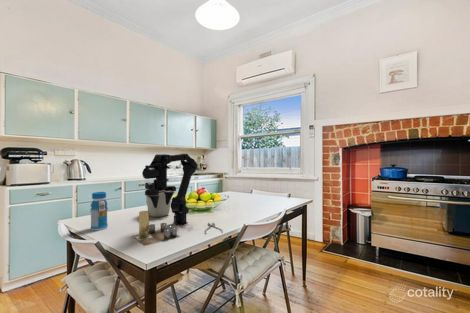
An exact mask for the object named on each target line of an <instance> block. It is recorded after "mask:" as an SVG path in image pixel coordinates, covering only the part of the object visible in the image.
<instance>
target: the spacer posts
mask: <svg viewBox="0 0 470 313" xmlns="http://www.w3.org/2000/svg"><path fill="white" fill-rule="evenodd" d="M167 224H168V223H167V222H161V223H160V230H161V232H164V239H165V240H166V241H169V240H168V239H170V238H174V237H177V235H178V228H177V227H174V226H173V225H171V224H170V225H167ZM155 231H156V224H154V223H151V224H150V223H149V234H154V233H155ZM174 239H175V238H174ZM170 240H171V239H170Z"/></svg>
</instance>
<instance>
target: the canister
mask: <svg viewBox="0 0 470 313" xmlns="http://www.w3.org/2000/svg"><path fill="white" fill-rule="evenodd" d="M158 195H159V200H158V205H157V208H154V205H153V203H152V200H151V198H150V197H147V195H145V196H146V199H145V200H146V206H147V211H149V217H154V218H159V217H160V218H162V217H165V216H167V215H169V214H170V212H171V204H170V203H171V201H172V198H171V199H170V202H169V204H168V205H166V199H165V194H164V192H160V193H159V194H158Z"/></svg>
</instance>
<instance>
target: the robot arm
mask: <svg viewBox="0 0 470 313" xmlns="http://www.w3.org/2000/svg"><path fill="white" fill-rule="evenodd" d="M179 161H180V165H181V166H182V172H183V174H182V177H181V182H180V184H179V188H178V191H177V187H176V186H175V185H168V182H169V178H168V169H171V168H170V167H169V164H170V163H172V162H179ZM197 163H198V162H196V160H195V159H194V158H192V157H191V156H190V155H189V154H188V153H179V154H178V153H177V154H168V153H167V154H166V153H165V154H162V153H161V154H158V153H157V154H155V155H154V157H153V159H152V161H151V162H150V164H149V165H147V164H146V165H145V168H144V169H143V170H142V173H141V174H142V177H143V179H145V180H151V179H153V182H149V181H148V182H144V188H145V189H146V190H144V196H146V195H147V197H150V198H151V200H152V203H153V205H154V208H157V205H158V200H159V195H158V194H159V193H160V192H164V194H165V199H166V205H168V204H169V202H170V199H171V203H170V211H171V213H172V214H174V215H173V223H172V224H174V225H176V226H181V225H187V224H188V221H187V215H188V214H189V211H190V209H189V207H188V206H187V200H186V196H187V192H188V190H189V185H190V182H191V178H192V175H194V174H195V172H196V171H197V168H198V164H197ZM176 192H177V193H176ZM175 193H176V194H177V195H176V196H175V197H173V196H174V194H175Z"/></svg>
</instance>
